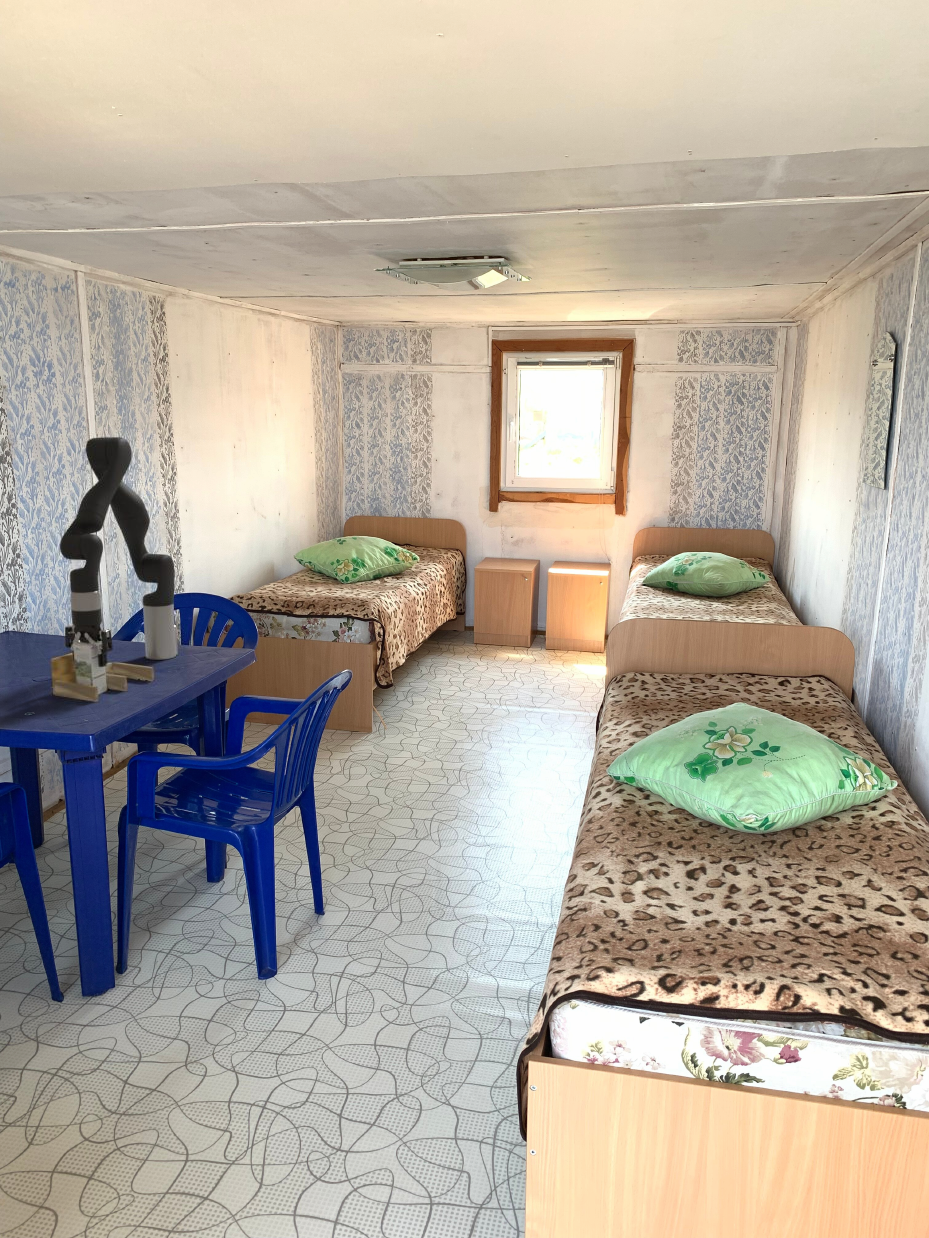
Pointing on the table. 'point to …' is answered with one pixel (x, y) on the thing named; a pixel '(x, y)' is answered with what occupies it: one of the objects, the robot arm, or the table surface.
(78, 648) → the syrup box
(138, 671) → the wooden rack
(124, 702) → the table surface
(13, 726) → the table surface
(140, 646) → the table surface
